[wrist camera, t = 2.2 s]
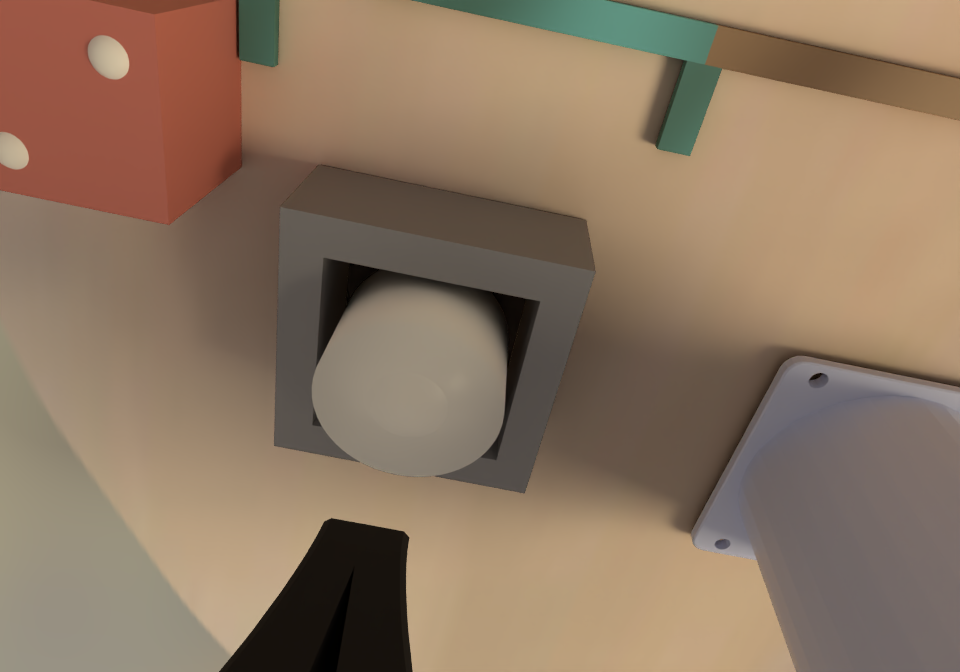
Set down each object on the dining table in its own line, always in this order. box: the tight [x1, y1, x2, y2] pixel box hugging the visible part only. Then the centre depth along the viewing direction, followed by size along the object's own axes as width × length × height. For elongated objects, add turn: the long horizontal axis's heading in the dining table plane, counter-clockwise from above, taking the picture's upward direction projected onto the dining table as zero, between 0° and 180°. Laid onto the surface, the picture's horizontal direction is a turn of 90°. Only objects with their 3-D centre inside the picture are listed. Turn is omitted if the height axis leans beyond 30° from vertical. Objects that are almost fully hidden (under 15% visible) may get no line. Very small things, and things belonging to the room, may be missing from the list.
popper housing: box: [274, 165, 596, 493], centre depth 17 cm, size 7×7×3 cm
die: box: [0, 0, 242, 225], centre depth 14 cm, size 4×4×4 cm
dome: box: [312, 269, 509, 477], centre depth 16 cm, size 4×4×3 cm
